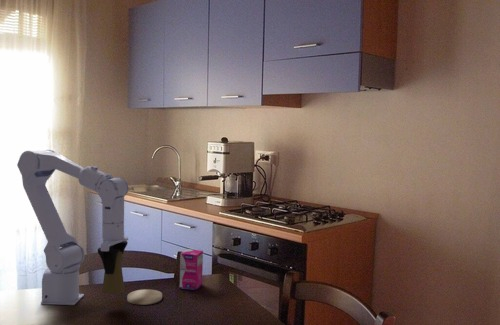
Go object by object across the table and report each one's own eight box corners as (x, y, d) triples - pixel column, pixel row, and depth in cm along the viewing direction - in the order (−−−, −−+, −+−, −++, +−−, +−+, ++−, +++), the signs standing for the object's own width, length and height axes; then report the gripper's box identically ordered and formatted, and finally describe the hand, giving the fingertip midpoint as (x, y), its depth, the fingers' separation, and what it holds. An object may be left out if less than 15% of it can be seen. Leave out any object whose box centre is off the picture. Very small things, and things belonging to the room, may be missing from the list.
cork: (118, 294, 126) (118, 253, 126) (97, 293, 127) (97, 252, 127) (128, 288, 132) (128, 249, 132) (108, 286, 133) (108, 248, 133)
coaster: (123, 304, 133) (123, 300, 133) (132, 292, 143) (132, 288, 143) (158, 305, 133) (158, 301, 133) (165, 293, 143) (165, 289, 143)
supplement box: (178, 289, 147) (179, 253, 146) (185, 283, 153) (186, 248, 152) (196, 291, 146) (197, 254, 145) (202, 285, 151) (203, 250, 151)
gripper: (119, 227, 121) (119, 279, 122) (134, 217, 136) (134, 263, 137) (92, 226, 121) (92, 278, 122) (110, 216, 136) (110, 263, 137)
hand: (112, 270), depth 129 cm, fingers closed on cork, 5 cm apart
